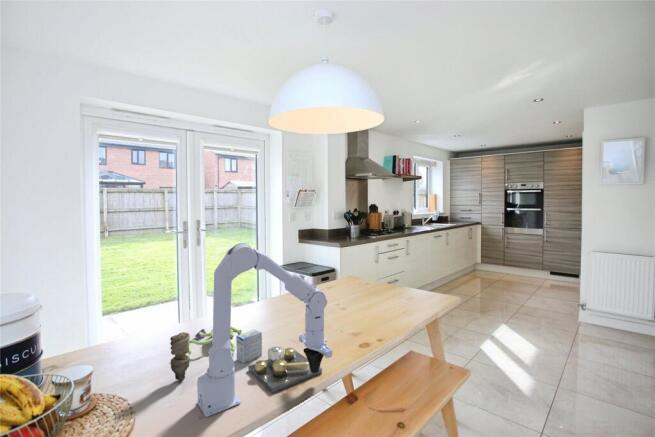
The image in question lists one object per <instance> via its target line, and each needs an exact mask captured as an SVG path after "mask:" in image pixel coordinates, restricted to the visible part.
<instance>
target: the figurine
mask: <svg viewBox="0 0 655 437" xmlns="http://www.w3.org/2000/svg"><path fill="white" fill-rule="evenodd" d="M234 332H236V333H238V334H242V333H243V332H242V329H238V328H236V327H234V326H231V325H230V338H234V337H235V333H234ZM212 336H213V328H212V329H211V330H210V331H209V332H206V330H205V329H204V328H202V329H200V330H199V331H198V332H197V333H196V334H195V335H194V337H195V338H196V339H190V342H189V344H194V345H197V346H203V345H207V344H209V343H212ZM203 337H204V338H206V337H211V338H210V339H209V338H208V339H206V340H205V341H199V340H197V339H200V340H201V339H202V338H203ZM230 345H231V352H232V357H234V356H235V355H234V353H233V352H235V351H236V346H235V344H234V342H232V340H231V339H230ZM191 354H192V349H191V347H190V346H189V352H188V353H187V355H191Z"/></svg>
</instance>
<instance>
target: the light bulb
mask: <svg viewBox="0 0 655 437" xmlns="http://www.w3.org/2000/svg"><path fill="white" fill-rule="evenodd" d="M190 338H191V335H190V333H188V332H184V331H183V332H180V333H178V334H175V335H173V336H171V337H170V343H169V344H170V354H171V355H172V356H173V357H172V358H171V359H170V370H171V371H172V372H173V374H174V377H175V378H174V379H175V380H176V381H179V382H182V381H183V380H185V379H186V371H187V370H188V368H189V367H190V366H189V365H190V356H189V355H188V352H189V347H190V343H189V342H190V340H191V339H190Z"/></svg>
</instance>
